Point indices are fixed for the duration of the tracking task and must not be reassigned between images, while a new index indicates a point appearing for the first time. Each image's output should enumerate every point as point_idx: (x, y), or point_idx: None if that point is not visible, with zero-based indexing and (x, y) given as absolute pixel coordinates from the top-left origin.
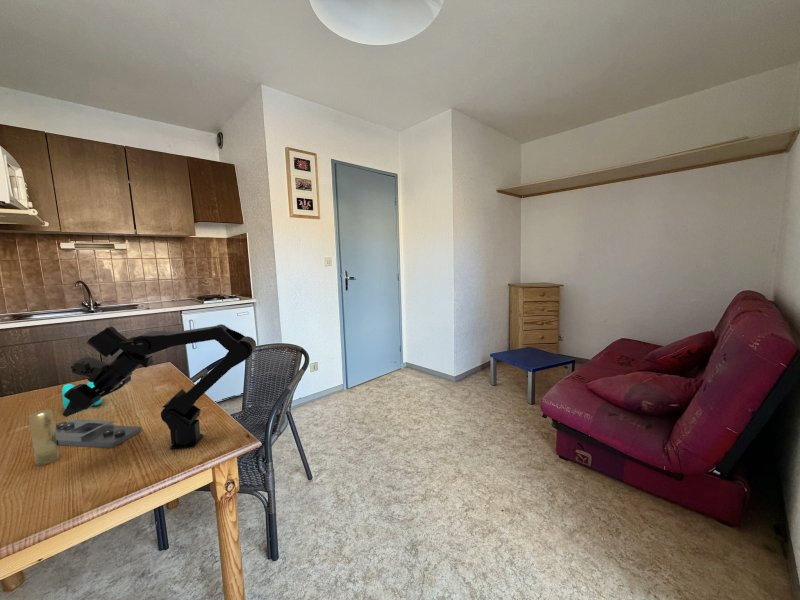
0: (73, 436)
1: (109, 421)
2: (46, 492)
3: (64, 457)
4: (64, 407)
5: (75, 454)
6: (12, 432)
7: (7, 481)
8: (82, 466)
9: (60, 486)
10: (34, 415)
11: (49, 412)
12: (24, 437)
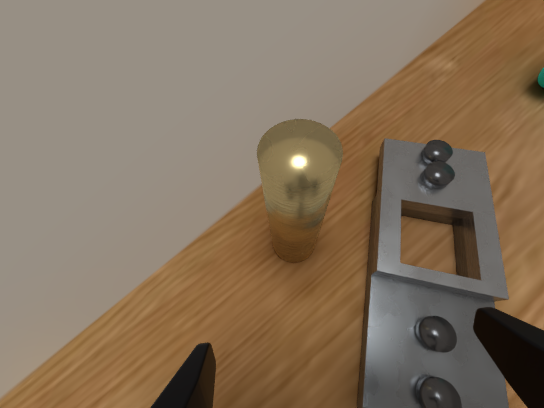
0: (379, 240)
1: (501, 286)
2: (127, 379)
3: (307, 273)
4: (542, 69)
5: (321, 294)
6: (420, 63)
7: (216, 223)
8: (247, 384)
9: (145, 401)
10: (268, 149)
11: (301, 188)
12: (402, 99)
